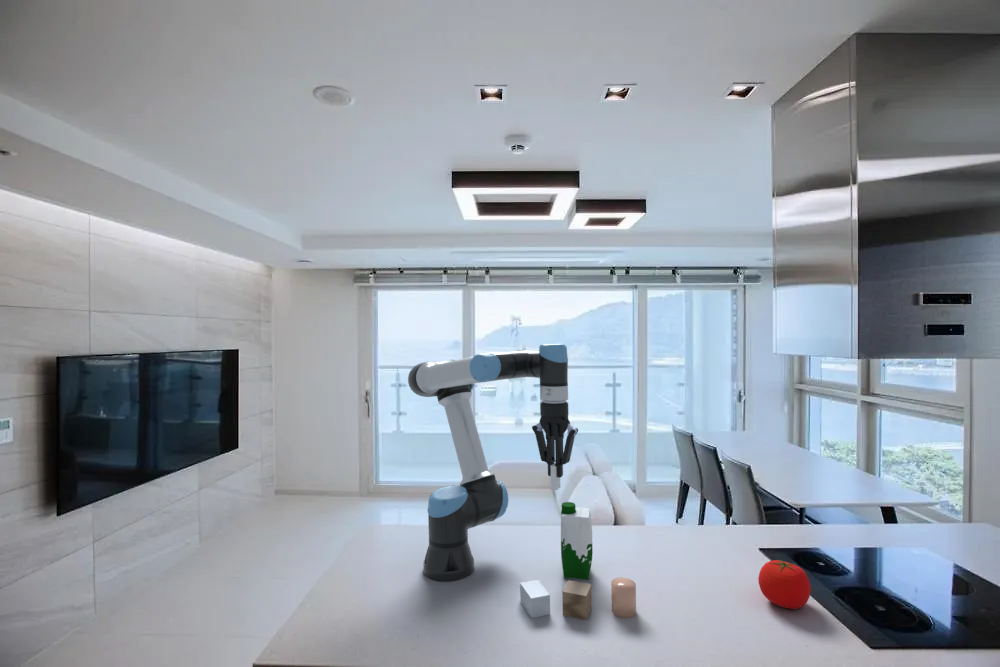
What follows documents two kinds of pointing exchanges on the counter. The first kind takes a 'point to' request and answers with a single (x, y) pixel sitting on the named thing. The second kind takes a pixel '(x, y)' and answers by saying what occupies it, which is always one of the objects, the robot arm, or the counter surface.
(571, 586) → the walnut cube
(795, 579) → the tomato
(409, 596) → the counter surface
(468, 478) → the robot arm
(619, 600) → the peach domed cylinder
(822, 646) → the counter surface
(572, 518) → the milk carton
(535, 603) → the grey brick
